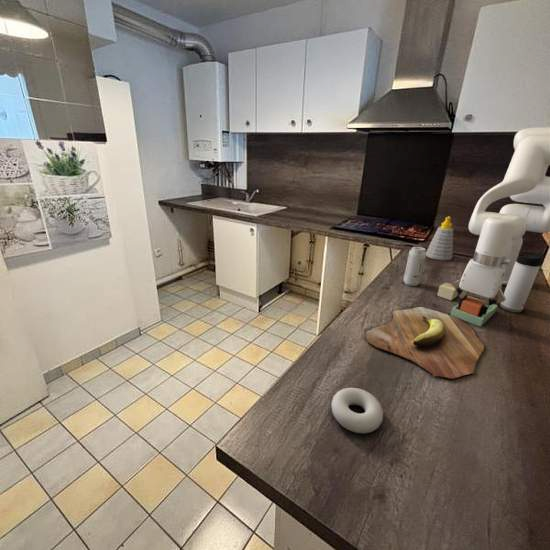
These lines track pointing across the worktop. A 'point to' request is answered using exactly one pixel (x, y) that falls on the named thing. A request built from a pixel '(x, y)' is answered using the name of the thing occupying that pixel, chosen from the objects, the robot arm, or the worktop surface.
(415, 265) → the energy drink can
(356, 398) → the donut
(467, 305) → the orange block
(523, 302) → the travel mug
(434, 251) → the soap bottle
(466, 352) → the cutting board
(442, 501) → the worktop surface
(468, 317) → the tray
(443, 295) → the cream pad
